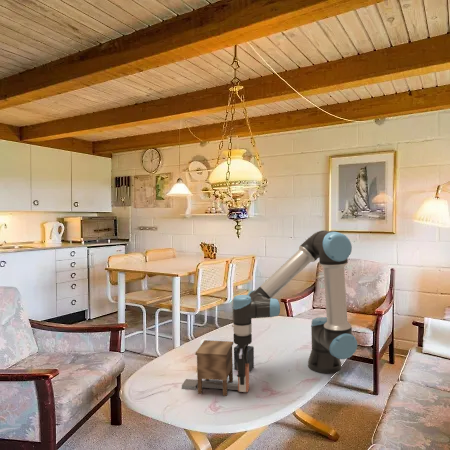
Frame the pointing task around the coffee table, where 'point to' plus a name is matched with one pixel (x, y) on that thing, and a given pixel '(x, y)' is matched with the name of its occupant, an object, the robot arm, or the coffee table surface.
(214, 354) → the cabinet
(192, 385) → the token
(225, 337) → the coffee table surface
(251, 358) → the box
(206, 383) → the orange-headed mallet
